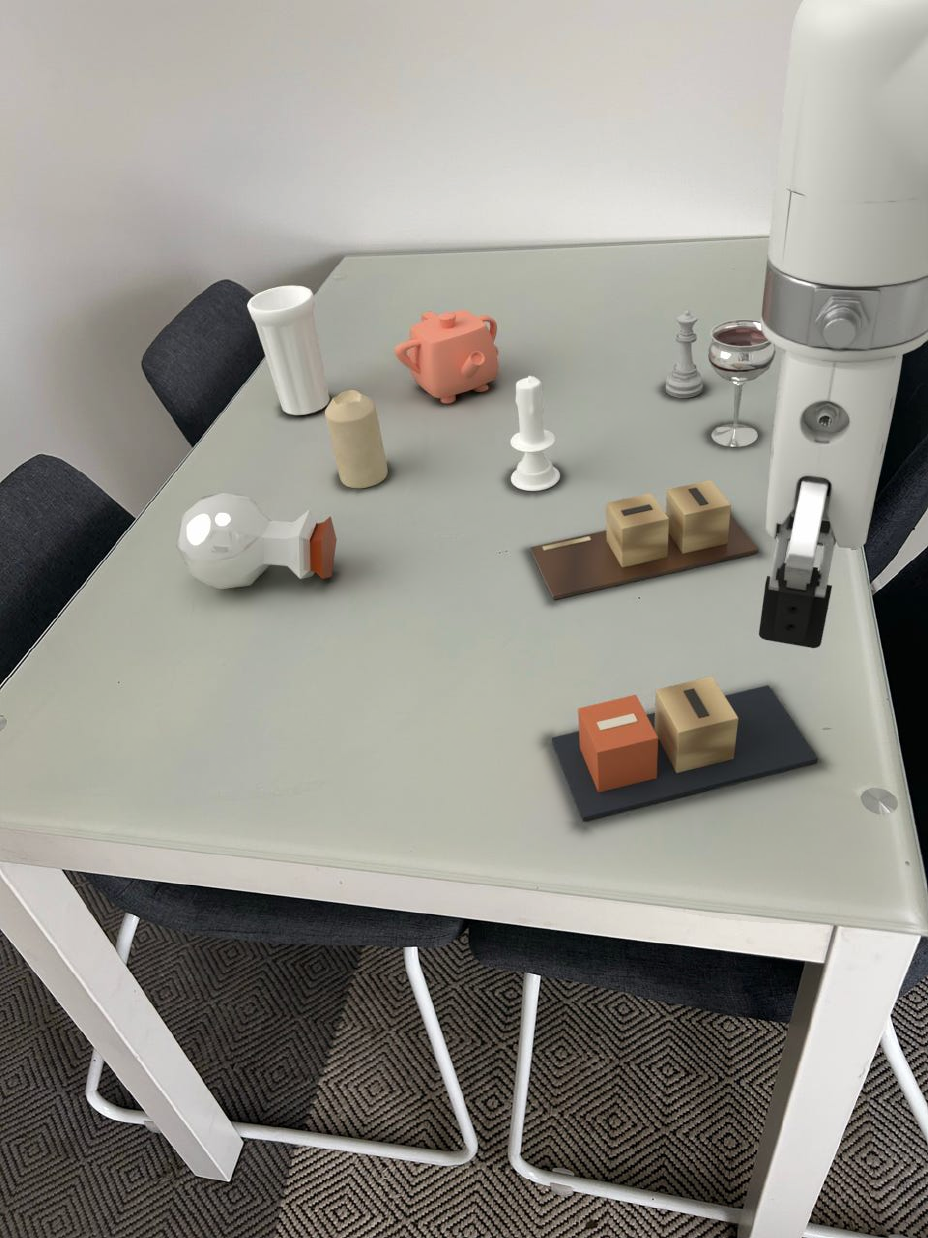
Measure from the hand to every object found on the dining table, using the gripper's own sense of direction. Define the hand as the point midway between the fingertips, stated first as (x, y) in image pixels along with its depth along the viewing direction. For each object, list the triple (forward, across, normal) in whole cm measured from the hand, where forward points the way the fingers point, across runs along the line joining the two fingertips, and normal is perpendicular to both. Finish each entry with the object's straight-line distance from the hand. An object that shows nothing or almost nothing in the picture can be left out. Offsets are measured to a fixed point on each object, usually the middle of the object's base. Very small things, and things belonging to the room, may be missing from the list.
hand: (801, 585), depth 54 cm
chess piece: (+20, +59, +18) cm, 65 cm away
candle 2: (+20, +37, +30) cm, 51 cm away
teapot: (+20, +54, +47) cm, 74 cm away
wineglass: (+20, +50, +11) cm, 55 cm away
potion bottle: (+20, +14, +51) cm, 56 cm away
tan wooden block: (+19, +30, +11) cm, 37 cm away
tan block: (+19, +3, +6) cm, 21 cm away
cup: (+20, +47, +65) cm, 82 cm away
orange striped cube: (+19, 0, +11) cm, 22 cm away
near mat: (+20, +3, +7) cm, 21 cm away
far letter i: (+20, +26, +16) cm, 36 cm away
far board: (+20, +26, +16) cm, 37 cm away
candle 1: (+20, +33, +49) cm, 63 cm away
